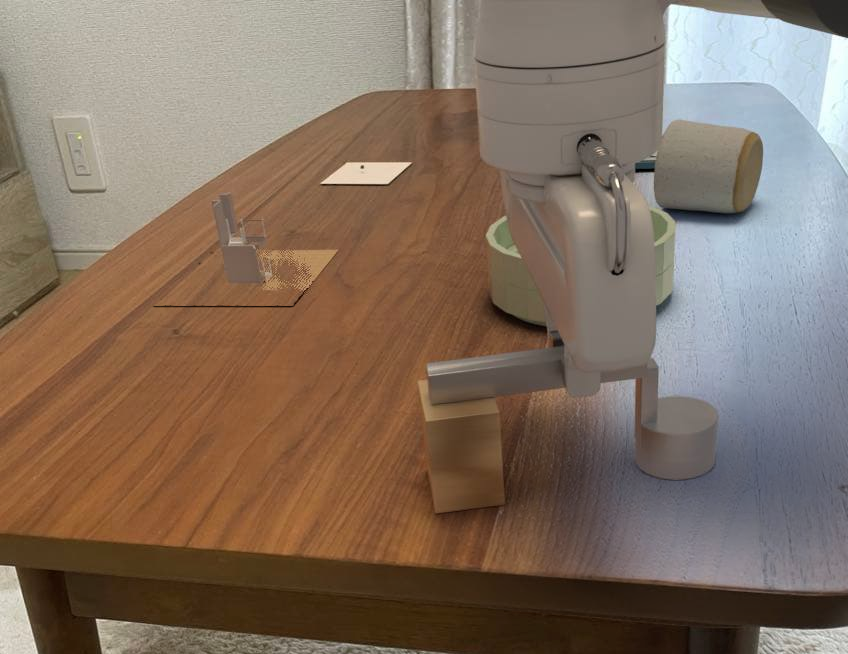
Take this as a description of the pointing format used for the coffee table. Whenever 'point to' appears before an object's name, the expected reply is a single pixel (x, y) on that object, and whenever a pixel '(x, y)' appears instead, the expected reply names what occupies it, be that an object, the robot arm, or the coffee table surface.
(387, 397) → the coffee table surface
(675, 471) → the ladle
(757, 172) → the ceramic mug
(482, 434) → the tall beige square pillar
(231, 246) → the architectural model
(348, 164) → the coaster
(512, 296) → the bowl
